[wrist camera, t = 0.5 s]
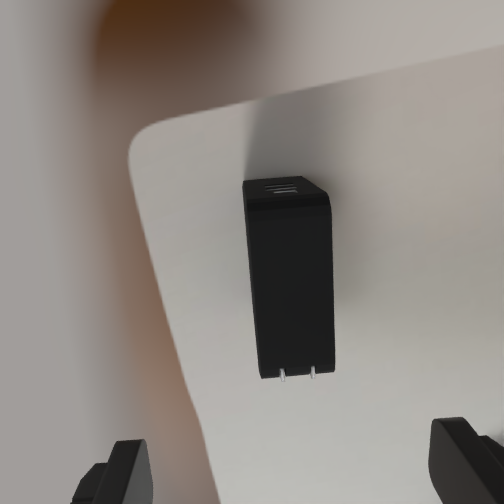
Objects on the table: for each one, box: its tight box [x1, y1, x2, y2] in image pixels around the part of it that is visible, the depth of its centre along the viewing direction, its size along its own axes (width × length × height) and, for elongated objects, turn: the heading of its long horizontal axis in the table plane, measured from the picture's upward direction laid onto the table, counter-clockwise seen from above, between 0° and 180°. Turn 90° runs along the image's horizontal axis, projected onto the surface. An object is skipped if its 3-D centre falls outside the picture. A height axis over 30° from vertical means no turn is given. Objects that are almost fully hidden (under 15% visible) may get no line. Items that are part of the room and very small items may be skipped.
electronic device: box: [242, 176, 335, 381], centre depth 25 cm, size 4×10×10 cm, turn 5°
